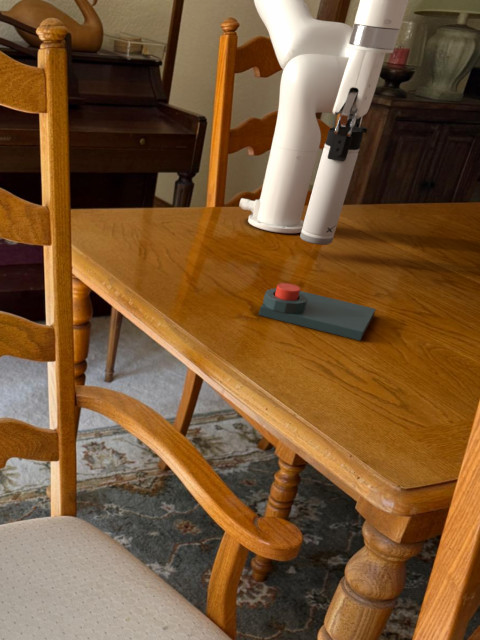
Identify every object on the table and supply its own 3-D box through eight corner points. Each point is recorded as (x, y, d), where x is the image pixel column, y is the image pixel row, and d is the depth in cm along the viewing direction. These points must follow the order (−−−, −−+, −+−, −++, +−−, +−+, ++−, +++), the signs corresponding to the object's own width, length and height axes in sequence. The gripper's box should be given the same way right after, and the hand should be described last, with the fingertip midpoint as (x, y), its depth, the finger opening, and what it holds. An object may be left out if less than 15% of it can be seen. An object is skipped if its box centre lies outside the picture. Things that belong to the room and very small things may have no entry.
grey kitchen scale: (256, 315, 114) (261, 296, 113) (276, 293, 123) (281, 276, 121) (359, 341, 109) (366, 322, 107) (373, 317, 118) (379, 299, 116)
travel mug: (334, 247, 140) (369, 131, 127) (300, 242, 140) (331, 126, 128) (332, 238, 144) (365, 125, 132) (299, 233, 145) (329, 120, 133)
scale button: (271, 298, 113) (274, 287, 112) (277, 292, 116) (280, 281, 115) (294, 304, 112) (297, 292, 111) (299, 297, 115) (302, 286, 114)
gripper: (359, 35, 129) (329, 146, 140) (340, 38, 117) (309, 160, 128) (402, 40, 127) (368, 153, 138) (387, 45, 114) (351, 168, 126)
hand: (340, 156), depth 133 cm, fingers closed on travel mug, 6 cm apart
